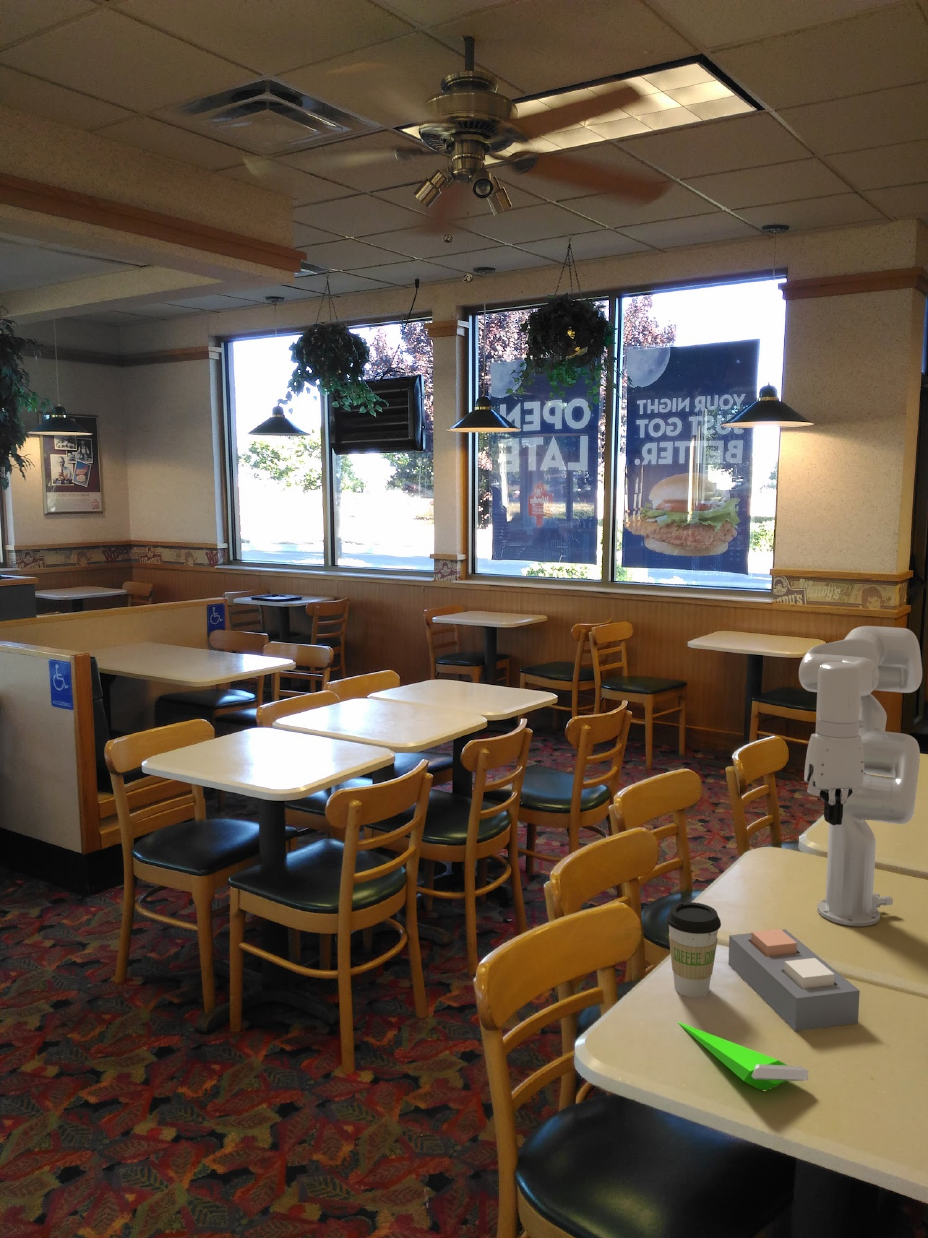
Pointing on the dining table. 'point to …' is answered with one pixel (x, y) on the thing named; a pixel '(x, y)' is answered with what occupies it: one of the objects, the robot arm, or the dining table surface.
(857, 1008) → the key panel
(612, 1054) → the dining table surface
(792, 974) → the cream key
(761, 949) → the terracotta key
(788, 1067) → the green triangular piece
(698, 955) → the coffee cup
